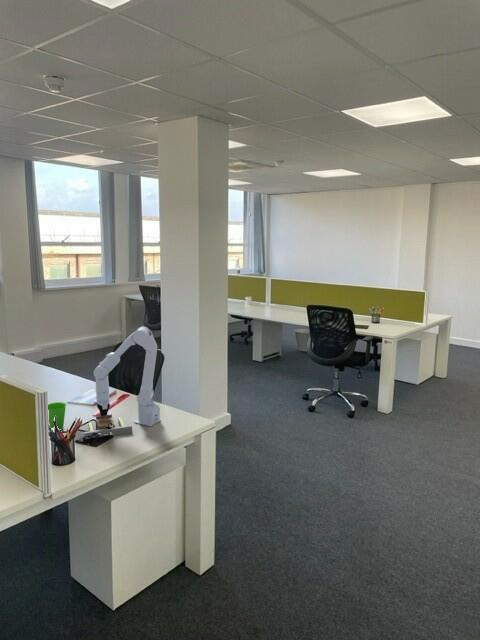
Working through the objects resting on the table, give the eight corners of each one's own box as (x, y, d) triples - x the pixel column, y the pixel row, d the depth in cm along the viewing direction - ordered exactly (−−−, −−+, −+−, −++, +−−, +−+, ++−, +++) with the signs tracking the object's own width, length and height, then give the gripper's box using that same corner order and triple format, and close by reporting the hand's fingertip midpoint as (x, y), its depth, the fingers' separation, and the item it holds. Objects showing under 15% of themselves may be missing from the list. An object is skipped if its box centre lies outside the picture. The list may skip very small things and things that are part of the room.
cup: (60, 434, 205) (59, 410, 203) (41, 432, 207) (40, 408, 205) (71, 426, 214) (70, 402, 212) (53, 424, 215) (52, 401, 213)
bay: (81, 428, 211) (81, 421, 211) (127, 421, 219) (126, 415, 219) (84, 440, 199) (84, 433, 199) (132, 432, 207) (132, 426, 206)
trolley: (96, 423, 216) (95, 416, 216) (111, 421, 219) (111, 414, 218) (98, 432, 207) (98, 424, 207) (115, 429, 210) (114, 422, 209)
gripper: (91, 386, 221) (93, 414, 224) (95, 396, 208) (96, 425, 210) (107, 385, 224) (108, 412, 226) (111, 394, 211) (112, 423, 213)
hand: (103, 418), depth 218 cm, fingers closed
